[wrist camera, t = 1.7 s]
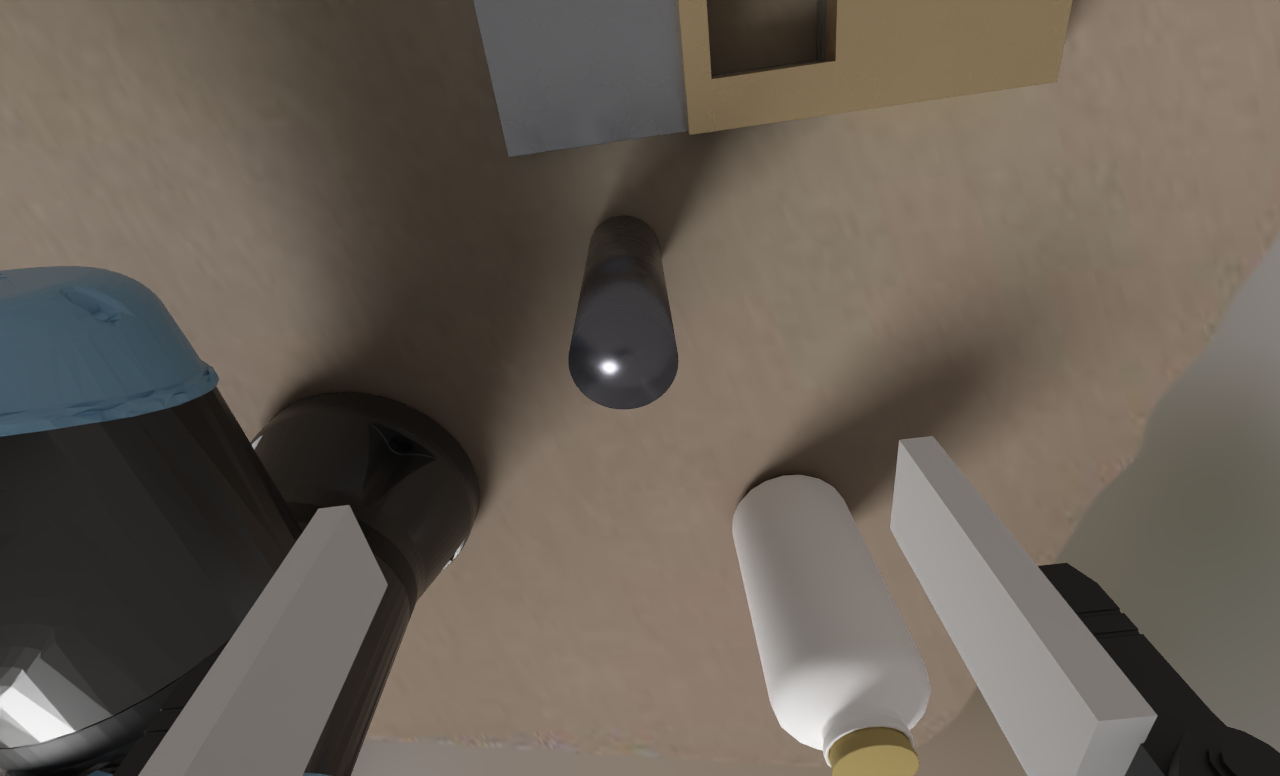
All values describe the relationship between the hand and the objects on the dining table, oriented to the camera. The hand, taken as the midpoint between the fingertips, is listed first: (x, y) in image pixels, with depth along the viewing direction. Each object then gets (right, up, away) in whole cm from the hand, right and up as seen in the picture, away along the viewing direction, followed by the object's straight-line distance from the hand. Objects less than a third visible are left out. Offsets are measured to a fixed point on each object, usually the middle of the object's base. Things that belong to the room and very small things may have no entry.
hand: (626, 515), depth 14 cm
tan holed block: (+6, +21, +14) cm, 26 cm away
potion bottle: (+11, -6, +29) cm, 32 cm away
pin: (-1, +11, +19) cm, 22 cm away
